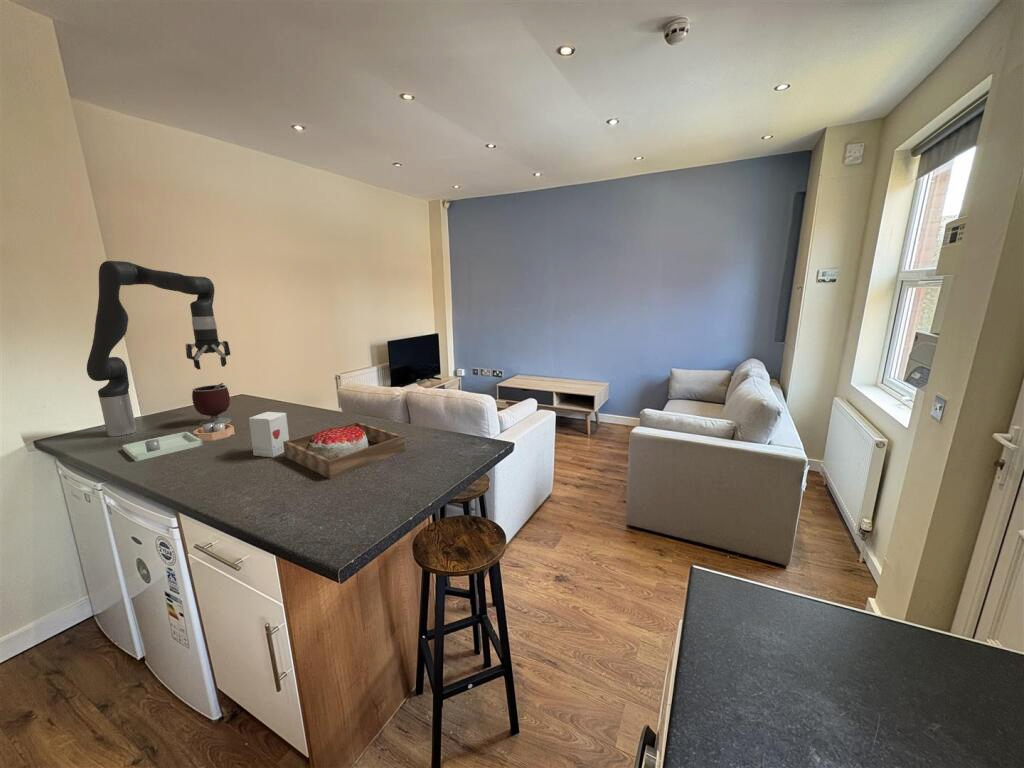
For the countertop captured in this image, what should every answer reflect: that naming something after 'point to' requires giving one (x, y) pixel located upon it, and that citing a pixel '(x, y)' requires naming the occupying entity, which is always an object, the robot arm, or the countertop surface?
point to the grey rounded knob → (152, 445)
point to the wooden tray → (347, 463)
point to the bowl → (214, 433)
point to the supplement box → (268, 433)
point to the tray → (162, 446)
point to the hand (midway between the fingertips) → (211, 367)
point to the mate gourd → (211, 402)
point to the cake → (338, 442)
